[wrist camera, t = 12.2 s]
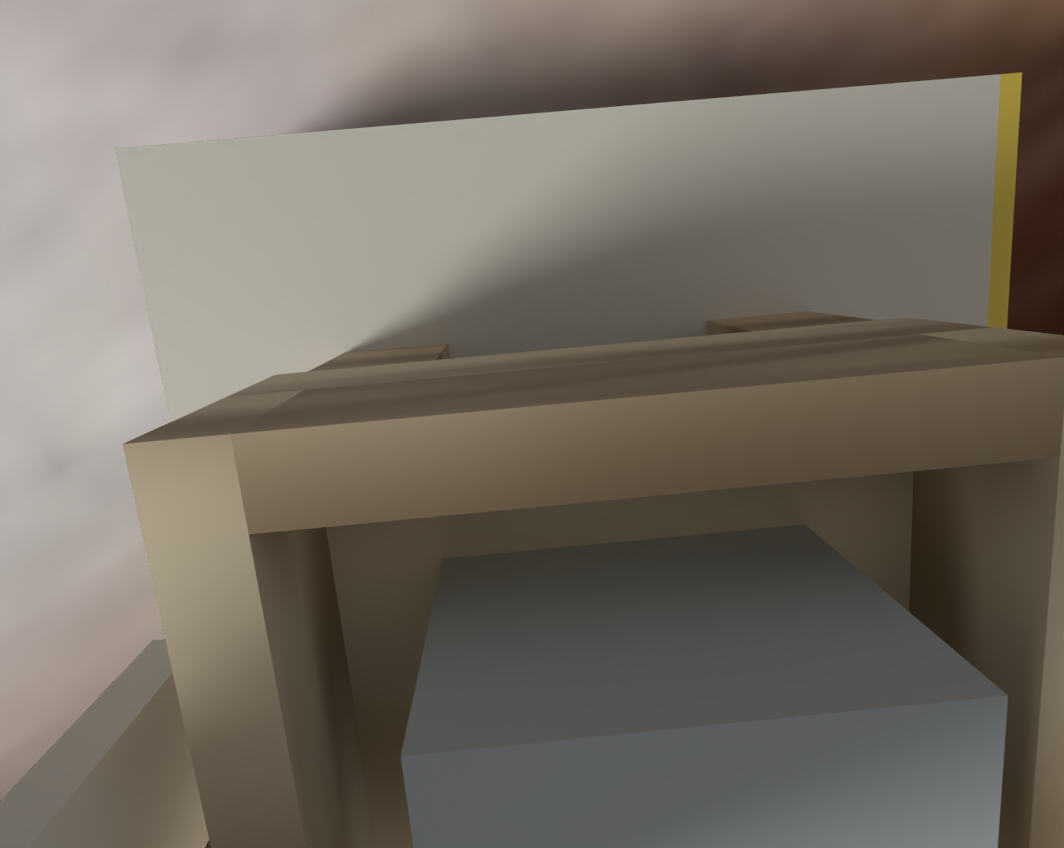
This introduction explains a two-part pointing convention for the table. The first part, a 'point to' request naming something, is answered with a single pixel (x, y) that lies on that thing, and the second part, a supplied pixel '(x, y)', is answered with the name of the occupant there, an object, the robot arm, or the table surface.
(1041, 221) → the table surface
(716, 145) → the dock
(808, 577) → the cargo block
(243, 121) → the table surface
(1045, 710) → the wooden crate with cube
